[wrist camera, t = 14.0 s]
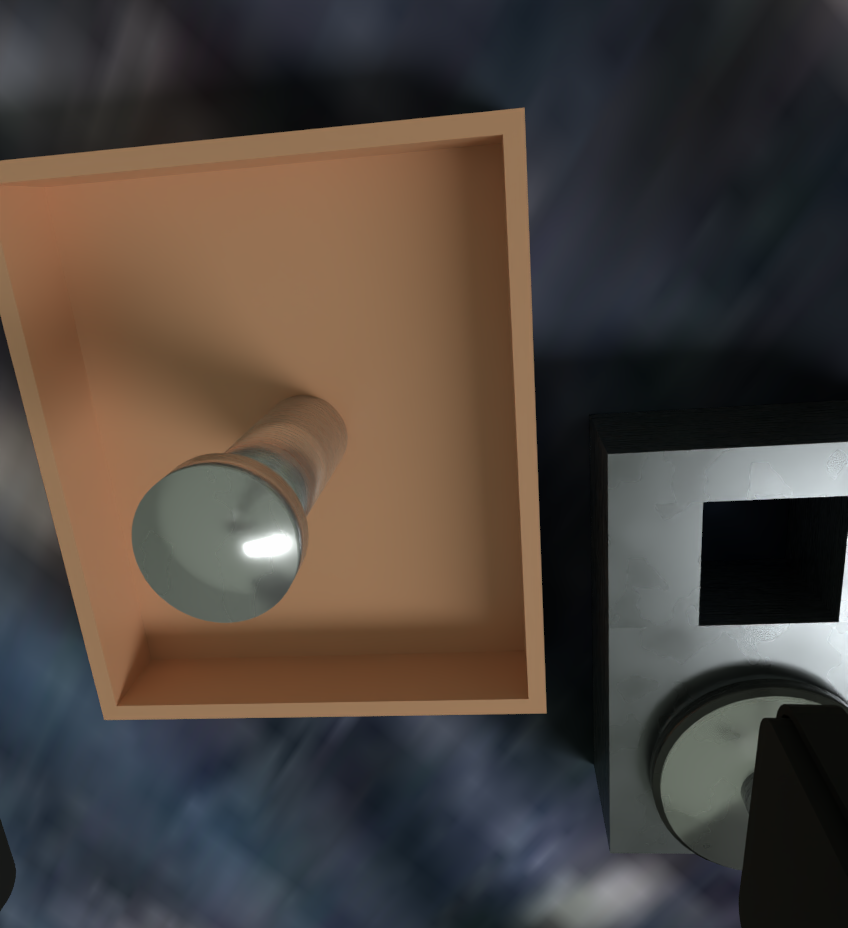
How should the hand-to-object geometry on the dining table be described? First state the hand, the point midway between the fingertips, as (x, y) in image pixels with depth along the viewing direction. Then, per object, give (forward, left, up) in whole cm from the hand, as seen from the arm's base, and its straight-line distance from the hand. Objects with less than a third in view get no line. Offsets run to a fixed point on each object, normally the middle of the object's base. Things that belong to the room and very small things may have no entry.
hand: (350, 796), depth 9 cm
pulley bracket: (+13, +12, -28) cm, 33 cm away
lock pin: (+3, -7, -27) cm, 28 cm away
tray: (+3, -8, -28) cm, 29 cm away
